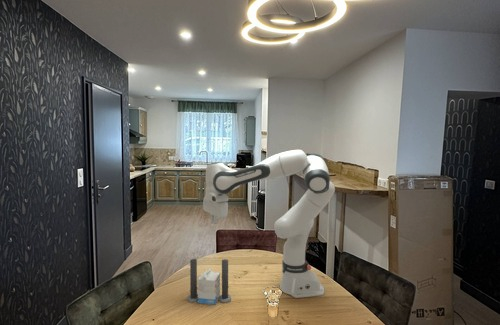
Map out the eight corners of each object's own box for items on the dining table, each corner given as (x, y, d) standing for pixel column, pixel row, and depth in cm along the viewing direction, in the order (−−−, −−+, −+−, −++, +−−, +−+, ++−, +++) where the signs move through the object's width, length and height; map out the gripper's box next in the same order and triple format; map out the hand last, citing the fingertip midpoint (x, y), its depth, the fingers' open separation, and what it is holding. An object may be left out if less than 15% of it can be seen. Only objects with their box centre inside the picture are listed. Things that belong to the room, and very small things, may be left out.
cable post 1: (201, 295, 134) (201, 257, 132) (198, 302, 128) (198, 263, 126) (188, 295, 134) (188, 257, 132) (185, 302, 128) (185, 263, 126)
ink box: (214, 305, 125) (214, 277, 125) (197, 303, 127) (197, 275, 126) (220, 295, 134) (220, 269, 133) (204, 293, 136) (204, 267, 135)
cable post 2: (231, 296, 133) (231, 258, 132) (230, 303, 127) (230, 263, 126) (219, 295, 133) (219, 258, 132) (217, 302, 127) (217, 263, 126)
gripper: (199, 192, 140) (199, 219, 141) (218, 199, 123) (218, 229, 124) (211, 191, 144) (210, 217, 145) (230, 198, 127) (230, 227, 128)
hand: (214, 223), depth 134 cm, fingers closed
